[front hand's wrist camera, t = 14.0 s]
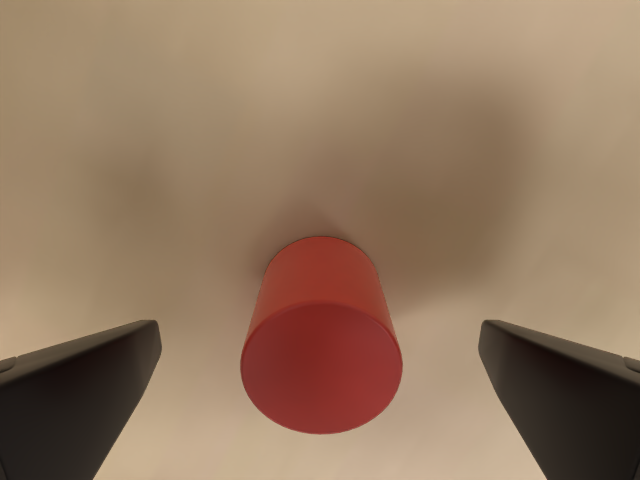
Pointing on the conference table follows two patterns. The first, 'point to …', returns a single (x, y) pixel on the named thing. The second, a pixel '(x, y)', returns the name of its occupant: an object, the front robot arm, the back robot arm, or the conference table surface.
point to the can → (321, 340)
